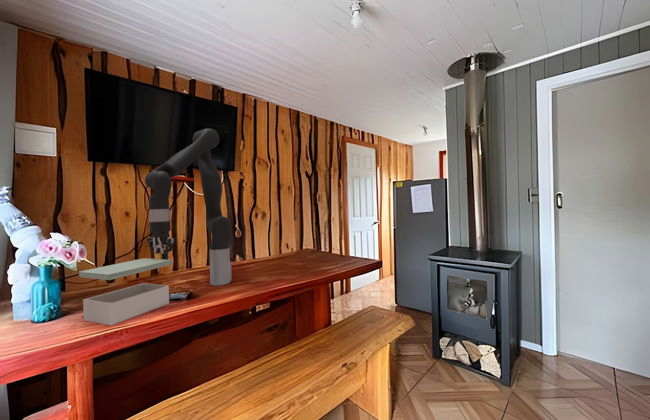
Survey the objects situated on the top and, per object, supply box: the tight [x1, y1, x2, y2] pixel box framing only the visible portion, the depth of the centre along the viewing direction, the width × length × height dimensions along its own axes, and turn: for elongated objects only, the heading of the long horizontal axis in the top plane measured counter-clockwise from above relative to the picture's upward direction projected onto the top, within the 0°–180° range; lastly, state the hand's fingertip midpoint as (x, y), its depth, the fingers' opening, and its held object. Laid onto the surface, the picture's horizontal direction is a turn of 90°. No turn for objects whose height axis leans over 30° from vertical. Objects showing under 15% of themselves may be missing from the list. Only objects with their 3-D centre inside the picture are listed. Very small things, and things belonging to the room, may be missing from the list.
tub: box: [82, 282, 170, 326], centre depth 101 cm, size 21×14×7 cm, turn 159°
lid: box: [78, 252, 173, 281], centre depth 102 cm, size 27×16×4 cm, turn 159°
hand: (161, 262), depth 113 cm, fingers closed on lid, 3 cm apart
